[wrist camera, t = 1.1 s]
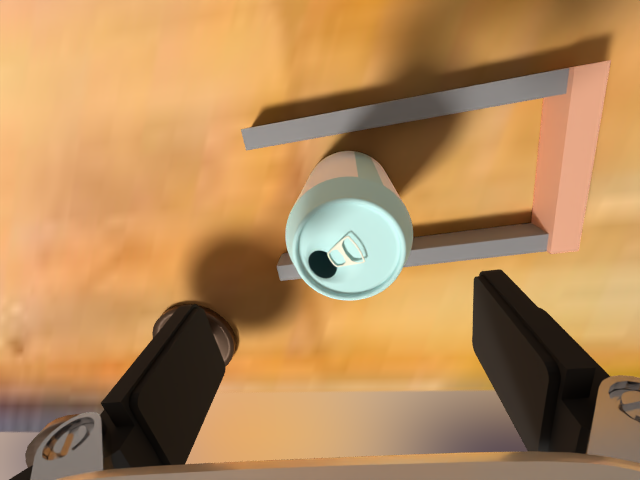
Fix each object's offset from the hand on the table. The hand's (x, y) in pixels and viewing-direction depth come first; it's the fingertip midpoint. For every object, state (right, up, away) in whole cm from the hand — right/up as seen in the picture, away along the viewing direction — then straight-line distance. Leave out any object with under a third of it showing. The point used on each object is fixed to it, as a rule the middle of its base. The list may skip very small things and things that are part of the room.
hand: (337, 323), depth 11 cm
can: (+2, +7, +16) cm, 18 cm away
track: (+7, +8, +15) cm, 18 cm away
